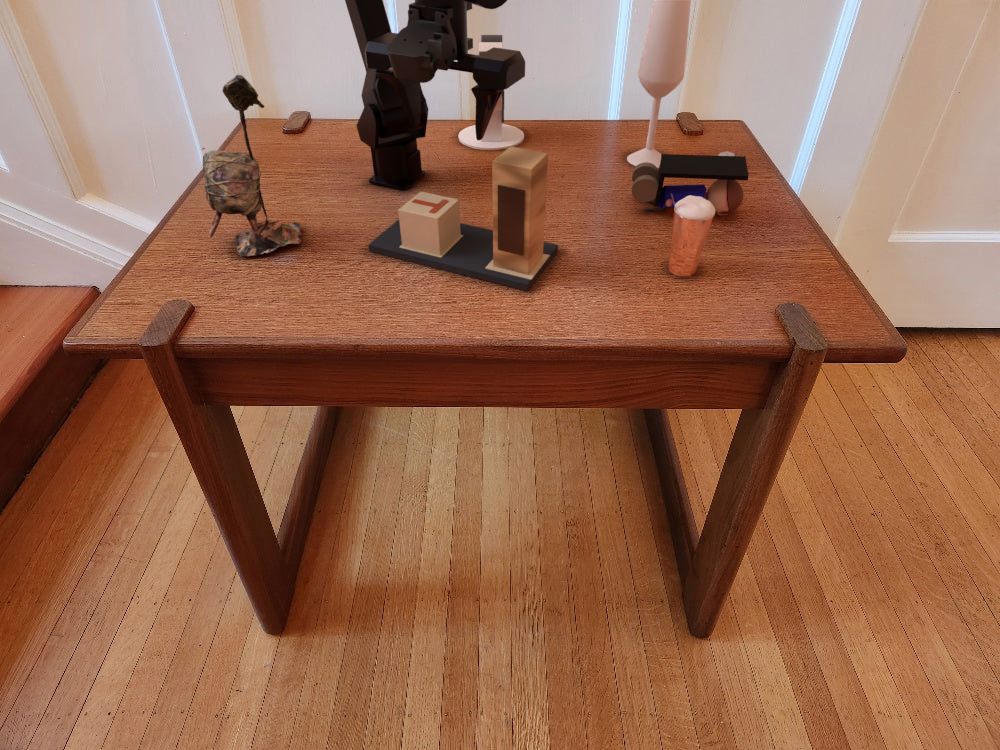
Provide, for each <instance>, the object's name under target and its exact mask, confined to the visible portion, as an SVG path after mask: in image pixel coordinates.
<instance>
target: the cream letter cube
mask: <svg viewBox="0 0 1000 750" xmlns="http://www.w3.org/2000/svg"><path fill="white" fill-rule="evenodd" d="M460 209H461V208H460V199H459V198H454V197H450V196H449V197H448V196H444V195H439V194H435V193H429V192H425V191H419V192H417V194H415V195H414V196H413V197H412V198H411V199H409V200H408V201H407V202H406V203H404V204H403V205H402V206H401V207H400V208H398V209H397V213H398V220H399V222H400V231H401V240H402V246H404V247H408V248H412V249H416V250H420V251H424V252H429V253H433V254H437V255H441V254H442V253H443V252H444V251H445V250H446V249H447V248H448V247H449V246H450V245H451V244H452V243H454V242H455V241H456V240H457V239H458V238H459V237H460V236H461V231H460V223H461V212H460Z"/></svg>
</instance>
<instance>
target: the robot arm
mask: <svg viewBox="0 0 1000 750" xmlns="http://www.w3.org/2000/svg"><path fill="white" fill-rule="evenodd" d="M506 2H508V0H414V2H411V3H409V4H408V9H407V23H406V26H405V27H402V28H401V29H400V31H398V33H397V32H393V31H392V29H391V25H390V21H389V18H388V14H387V11H386V7H385V4H384V0H344V3H345V5H346V9H347V11H348V15H349V18H350V21H351V25H352V29H353V32H354V35H355V39H356V42H357V45H358V48H359V53H360V55H361V59H362V62H363V66H364V68H365V77H364V81H363V85H362V86H363V87H362V90H361V101H362V104H363V109H362V111H361V114H360V116H359V118H358V121H357V122H356V130H357V133H358V136H359V140H360V142H362V143H364V144H365V145H366V146H368V147H369V148H370V152H371V153H370V154H371V162H372V168H373V169H372V170H373V175H371V177H370V178H368V183H369V184H372V185H377V186H381V187H386V188H391V189H395V190H400V191H406V190H408V189H409V188H410V187H411V186H413V185H414V184H415V183H417V182H418V181H419V180H420V179H421V178H423V177H424V176H425V175H426V171H425V170H423V169H422V158H421V150H420V149H419V148H418V141H417V139H423V138H425V137H426V134H427V126H428V117H429V106H428V103H427V100H426V96H425V95H424V92H423V89H422V85H421V84H424V83H429V82H431V81H432V80H433V79H434V78H435V76H436V73H437V71H438V70H439V71H440V70H441V71H445V72H447V71H448V70H451V71H459V72H465V73H471V74H472V79H473V80H474V82H475V83H476V85H474V86H472V87H471V89H470V90H471V93H472V95H473V96H474V98H475V124H474V125H475V130H476V139H477V140H479V141H480V140H481V139H482V138H483V137H484V134H485V132H486V129H487V126H488V124H489V121H490V119H491V116H492V114H493V111H494V109H495V106H496V104H497V102H498V100H499V98H500V96H501V94H502V92H503V90H504V91H505V90H507V89H509V88H510V87H512V86H513V85H514V84H516V83H518V82H519V81H521V80H522V79H524V78H525V77H526V60H525V58H524V56H523V54H522V52H521V50H516V49H509V48H503V47H502V48H495V47H493V48H492V49H490V50H488V51H486V52H485V53H483V54H481V55H478V54H474V53H473V54H472V53H469V51H470V50H472V49H474V38H471V37H468V11H470V10H473V5H475V6H478V7H479V8H483V9H486V10H496V9H498V8H500V7H502V6H503V5H504V4H506Z"/></svg>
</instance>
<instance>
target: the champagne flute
mask: <svg viewBox="0 0 1000 750" xmlns="http://www.w3.org/2000/svg"><path fill="white" fill-rule="evenodd" d="M691 2H692V0H653V2H652V7H651V12H650V16H649V21H648V25H647V28H646V29H647V30H646V34H645V39H644V43H643V48H642V53H641V57H640V62H639V66H638V71H637V76H638V80H639V82H640V84H641V86H642V87H643V89H644V90H645V91H646V93H647V94H648V95H649V96H650V97H651V98H652V103H651V109H650V110H651V111H650V117H649V124H648V130H647V137H646V143H645V144H646V145H645V147H644V148H642V149H639V150H637V151H634V152H632V153H630V154H629V155H627V157H626V161H627V162H628V163H629V164H631V165H632V166H635V167H636V166H637V165H638V164H640V163H644V162H648V163H652V164H654V165H655V166H656V167H657V169H659V166H660V161H661V154H662V153H661V152H659V151H658V150H656V149H655V148H654V145H655V139H656V133H657V126H658V121H659V116H660V115H659V114H660V107H661V103H662V102H661V101H662V98H665V97H666V96H668V95H669V94H670V93H672V92H673V91H674V90H675V89H676V88H677V87H678V86H679V85H681V83H682V81H683V80H684V78H685V72H686V71H685V70H686V60H687V59H686V58H687V49H688V48H687V47H688V36H689V24H690V14H691V13H690V12H691Z"/></svg>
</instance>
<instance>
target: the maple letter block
mask: <svg viewBox="0 0 1000 750" xmlns="http://www.w3.org/2000/svg"><path fill="white" fill-rule="evenodd" d="M548 160H549V153H548V152H543V151H538V150H533V149H532V150H531V149H527V148H521V147H516V146H514V147H509V148H507V149H504V151H503V152H502V153H501V154H500V155H498V156H497V157H496V158H494V159H493V160H492V162H491V163H492V165H491V167H492V169H491V170H492V230H493V266H495V267H499V268H503V269H507V270H511V271H515V272H519V273H523V274H527V275H528V274H529V273H530V272H531V271H532V269H533V268H534V267H535V266H536V264H537V263H538V262H539V261H540V260H541V258H542V257H543V244H544V242H545V223H546V222H545V221H546V202H547V181H548Z"/></svg>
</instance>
